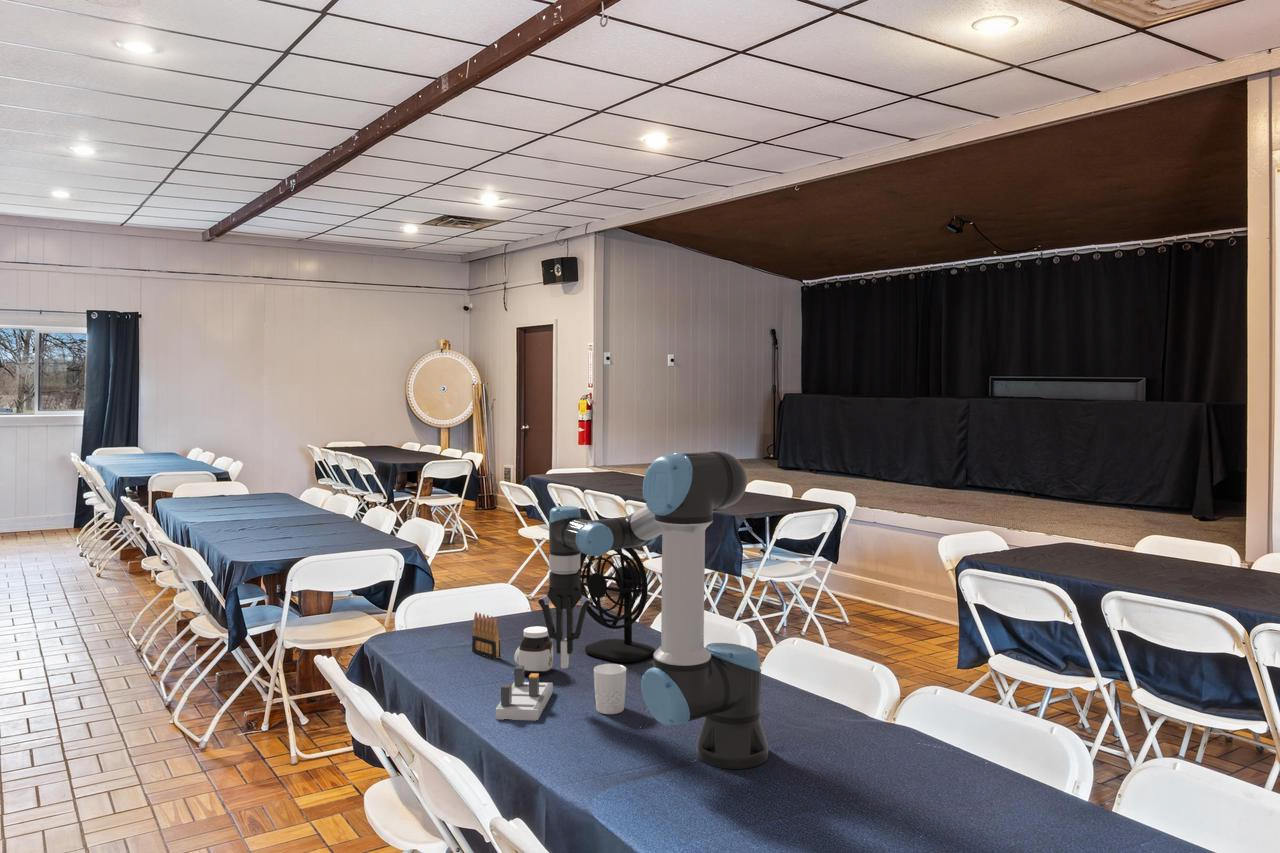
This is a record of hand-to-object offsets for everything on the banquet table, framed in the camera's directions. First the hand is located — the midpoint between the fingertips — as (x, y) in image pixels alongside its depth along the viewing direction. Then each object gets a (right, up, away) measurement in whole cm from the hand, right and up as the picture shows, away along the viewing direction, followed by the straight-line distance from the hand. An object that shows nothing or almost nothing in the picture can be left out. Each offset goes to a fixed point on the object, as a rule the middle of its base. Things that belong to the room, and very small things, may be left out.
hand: (564, 666), depth 219 cm
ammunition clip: (-26, -8, +42) cm, 50 cm away
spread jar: (-11, -9, +28) cm, 32 cm away
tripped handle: (-8, -7, +1) cm, 10 cm away
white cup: (+11, -10, -2) cm, 15 cm away
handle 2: (-12, -7, +8) cm, 16 cm away
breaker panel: (-10, -10, +1) cm, 14 cm away
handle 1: (-13, -7, -6) cm, 16 cm away
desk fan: (+12, -8, +42) cm, 45 cm away
